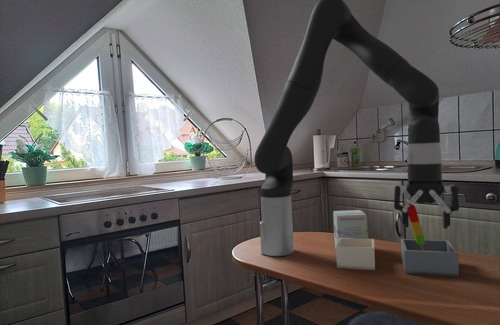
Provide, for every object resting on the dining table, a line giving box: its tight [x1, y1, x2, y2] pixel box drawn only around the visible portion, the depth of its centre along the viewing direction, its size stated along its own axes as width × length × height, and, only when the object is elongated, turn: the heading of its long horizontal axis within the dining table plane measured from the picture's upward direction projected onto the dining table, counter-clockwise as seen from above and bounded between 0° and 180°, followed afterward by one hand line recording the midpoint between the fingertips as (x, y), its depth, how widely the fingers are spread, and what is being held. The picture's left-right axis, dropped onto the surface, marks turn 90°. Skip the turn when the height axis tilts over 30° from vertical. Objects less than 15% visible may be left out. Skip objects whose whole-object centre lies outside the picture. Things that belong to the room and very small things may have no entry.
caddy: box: [400, 238, 460, 278], centre depth 88 cm, size 11×11×6 cm
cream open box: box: [335, 238, 376, 271], centre depth 93 cm, size 9×9×6 cm
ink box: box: [332, 209, 369, 250], centre depth 104 cm, size 9×9×12 cm
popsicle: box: [407, 204, 426, 251], centre depth 88 cm, size 6×2×15 cm, turn 161°
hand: (425, 227), depth 88 cm, fingers open, 8 cm apart
